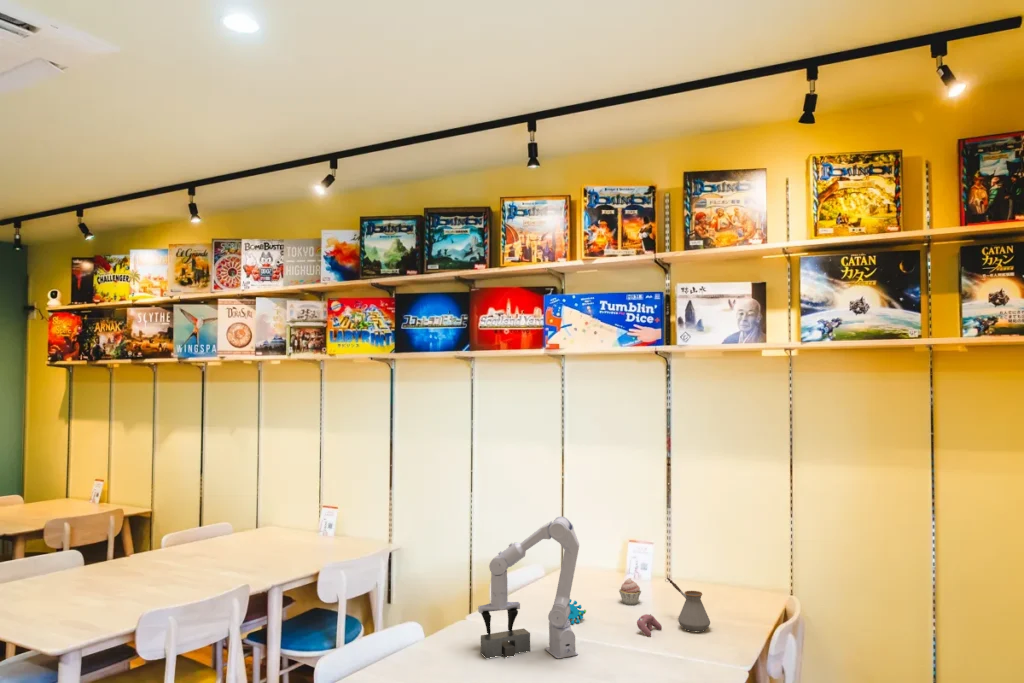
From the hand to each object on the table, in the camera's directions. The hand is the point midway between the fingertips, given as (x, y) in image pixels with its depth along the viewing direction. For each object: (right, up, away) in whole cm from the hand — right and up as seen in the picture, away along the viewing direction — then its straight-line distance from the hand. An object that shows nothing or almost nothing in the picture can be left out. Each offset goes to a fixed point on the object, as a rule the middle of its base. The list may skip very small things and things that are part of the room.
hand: (499, 632), depth 235 cm
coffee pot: (+69, -6, +21) cm, 73 cm away
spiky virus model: (+27, -7, +25) cm, 38 cm away
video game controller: (+54, -6, +13) cm, 56 cm away
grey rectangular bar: (+2, -5, -4) cm, 6 cm away
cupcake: (+53, -8, +47) cm, 72 cm away
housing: (+2, -5, -5) cm, 7 cm away
